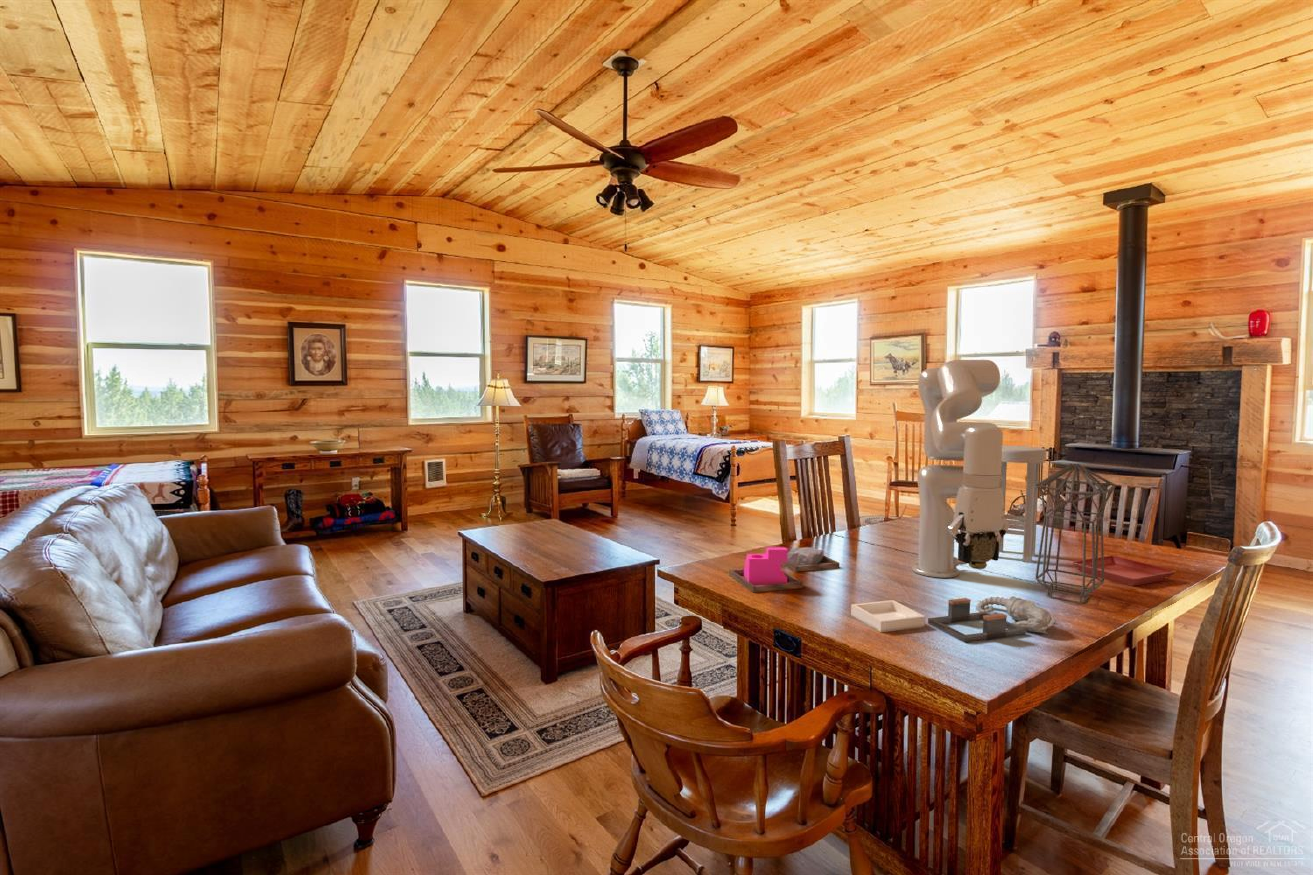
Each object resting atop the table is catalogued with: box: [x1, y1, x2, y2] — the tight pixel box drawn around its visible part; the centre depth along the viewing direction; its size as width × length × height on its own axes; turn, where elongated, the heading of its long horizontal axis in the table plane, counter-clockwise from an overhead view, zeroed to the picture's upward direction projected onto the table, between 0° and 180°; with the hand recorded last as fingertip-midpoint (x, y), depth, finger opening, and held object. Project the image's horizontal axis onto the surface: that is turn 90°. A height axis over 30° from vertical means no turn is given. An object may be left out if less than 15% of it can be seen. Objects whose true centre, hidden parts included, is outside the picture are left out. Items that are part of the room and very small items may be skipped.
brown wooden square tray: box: [728, 568, 804, 593], centre depth 181 cm, size 15×17×2 cm
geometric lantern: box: [1034, 463, 1116, 604], centre depth 166 cm, size 16×16×35 cm
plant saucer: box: [1071, 555, 1176, 587], centre depth 186 cm, size 18×18×3 cm
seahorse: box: [975, 596, 1057, 635], centre depth 151 cm, size 5×12×20 cm
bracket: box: [743, 546, 789, 586], centre depth 181 cm, size 12×10×10 cm
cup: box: [963, 532, 998, 570], centre depth 144 cm, size 8×7×8 cm
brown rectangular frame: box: [781, 550, 840, 572], centre depth 200 cm, size 15×17×2 cm
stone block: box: [787, 546, 825, 566], centre depth 200 cm, size 12×5×10 cm
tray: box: [850, 599, 926, 633], centre depth 150 cm, size 12×12×2 cm
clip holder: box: [927, 597, 1027, 644], centre depth 145 cm, size 16×12×5 cm
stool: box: [999, 445, 1047, 564], centre depth 206 cm, size 16×16×35 cm
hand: (978, 559), depth 145 cm, fingers closed on cup, 6 cm apart
